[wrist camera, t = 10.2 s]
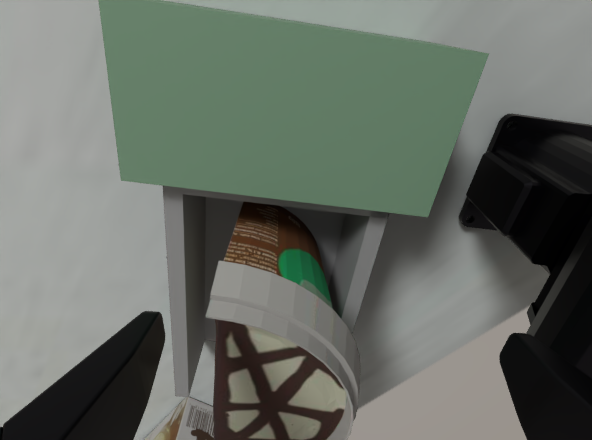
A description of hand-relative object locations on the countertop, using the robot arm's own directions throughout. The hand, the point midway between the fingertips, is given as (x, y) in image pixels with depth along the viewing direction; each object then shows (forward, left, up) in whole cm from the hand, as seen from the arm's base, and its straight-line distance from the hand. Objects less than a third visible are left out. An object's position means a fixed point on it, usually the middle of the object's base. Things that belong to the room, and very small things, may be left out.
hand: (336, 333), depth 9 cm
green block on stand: (+2, +4, -12) cm, 13 cm away
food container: (+1, +7, -12) cm, 13 cm away
